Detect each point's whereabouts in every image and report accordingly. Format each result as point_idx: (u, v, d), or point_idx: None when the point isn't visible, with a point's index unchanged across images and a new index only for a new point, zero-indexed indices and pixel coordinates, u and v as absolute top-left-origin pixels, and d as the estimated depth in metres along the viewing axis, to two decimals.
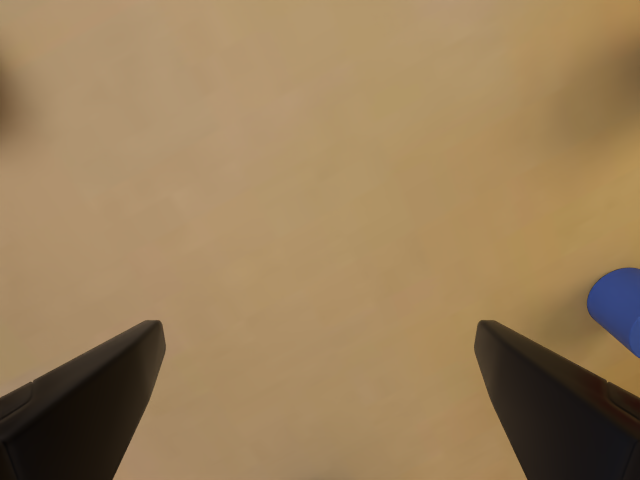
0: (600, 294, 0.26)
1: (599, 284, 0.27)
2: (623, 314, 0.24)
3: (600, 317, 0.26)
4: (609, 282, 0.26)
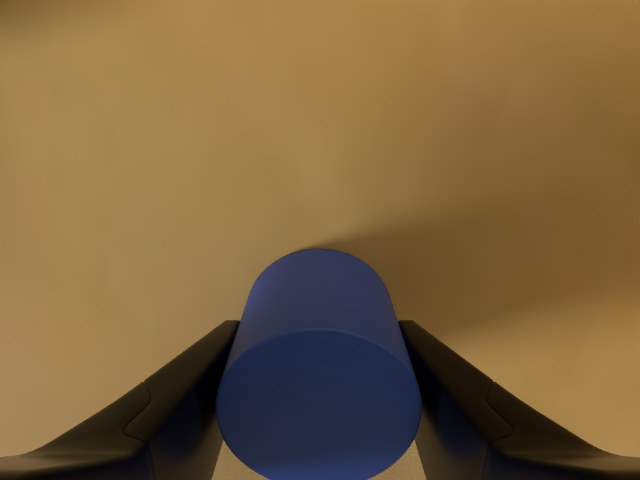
0: None
1: None
2: None
3: None
4: None
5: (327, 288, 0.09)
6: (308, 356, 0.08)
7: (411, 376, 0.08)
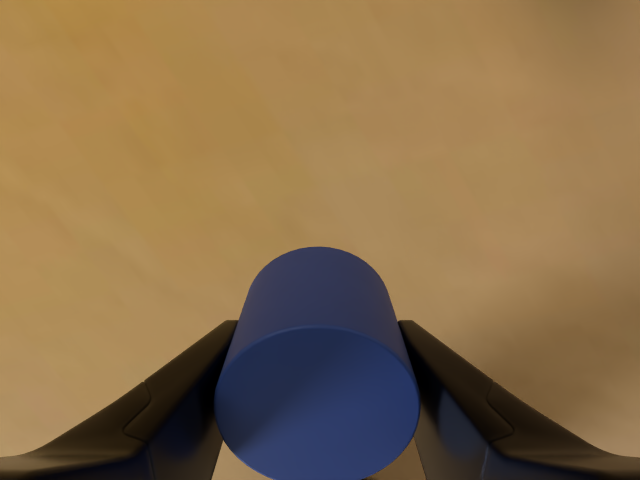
0: None
1: None
2: None
3: None
4: None
5: (325, 285, 0.09)
6: (306, 353, 0.08)
7: (410, 373, 0.08)
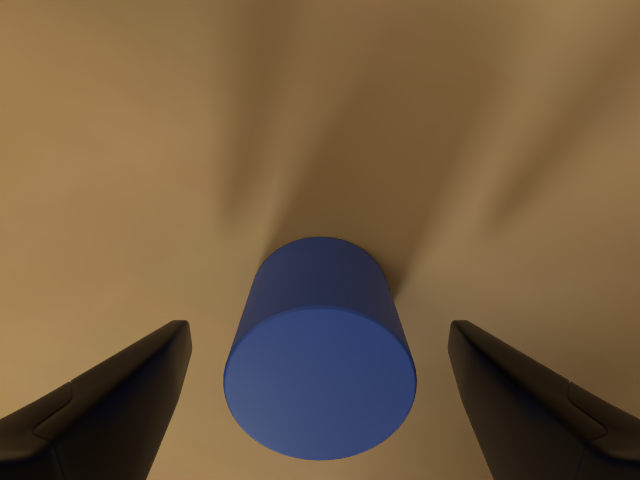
0: None
1: None
2: None
3: None
4: None
5: (327, 271, 0.10)
6: (311, 331, 0.09)
7: (406, 351, 0.09)
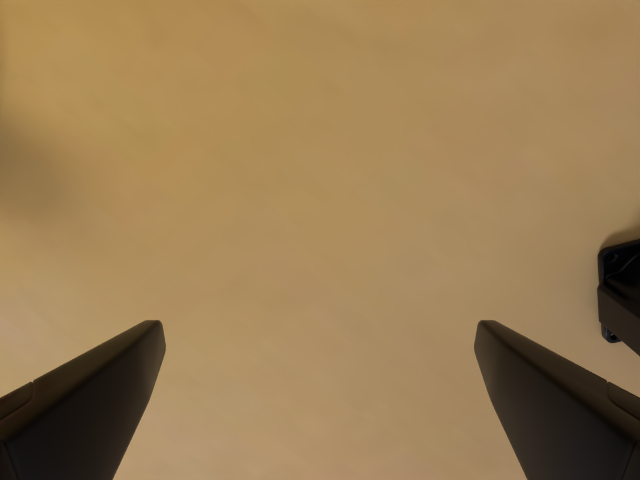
0: None
1: None
2: None
3: None
4: None
5: None
6: None
7: None
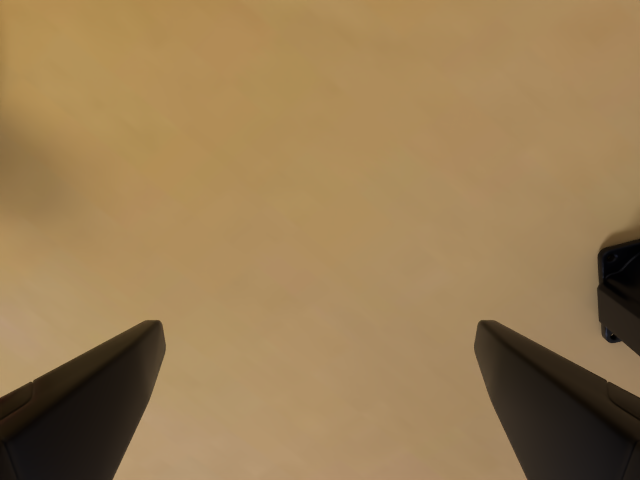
0: None
1: None
2: None
3: None
4: None
5: None
6: None
7: None
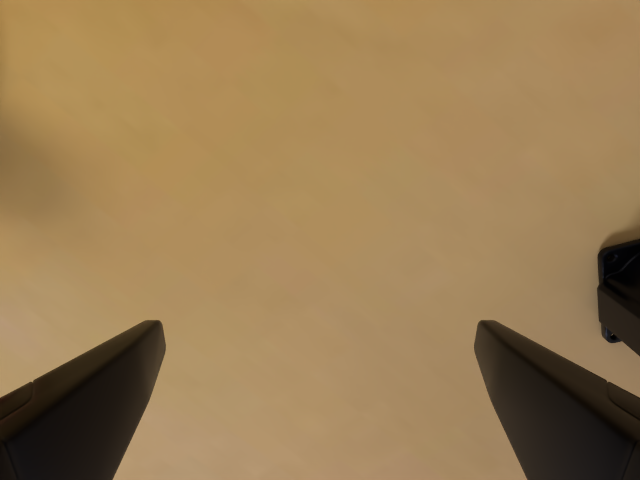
0: None
1: None
2: None
3: None
4: None
5: None
6: None
7: None
